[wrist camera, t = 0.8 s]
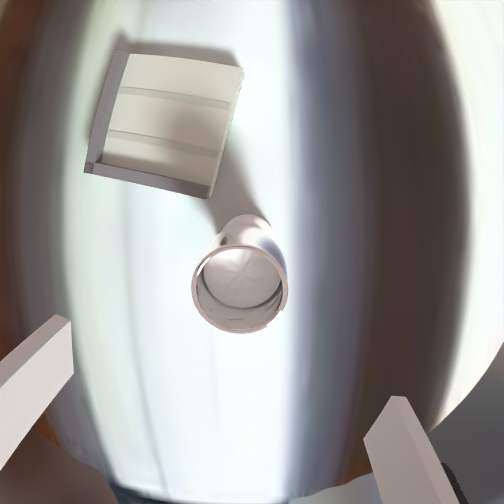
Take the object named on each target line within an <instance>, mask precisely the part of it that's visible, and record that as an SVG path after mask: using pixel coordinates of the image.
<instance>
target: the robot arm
mask: <svg viewBox="0 0 504 504" xmlns="http://www.w3.org/2000/svg"><path fill="white" fill-rule="evenodd" d="M73 373H74V370H73V357H72V340H71V320H68V319H66V318H64V317H61V316H59V315H56V314H55V315H54V316H53V317H52V318H51V319H49V320H48V321H47V322H46V323H44V324H43V325H42V326H41V327H40V328H38V329H37V330H36V331H35V332H34V333H33V334H31V335H30V336H29V337H28V338H27V339H25V340H24V341H23V342H22V343H21V344H20V345H19V346H17V347H16V348H15V349H14V350H13V351H12V352H11V353H9V354H8V355H7V356H6V357H5V358H4V359H3V360H2V361H0V470H1V469H2V467H3V466H4V464H5V463H6V462H7V460H8V459H9V457H10V456H11V454H12V453H13V452H14V450H15V449H16V448H17V446H18V445H19V443H20V442H21V440H22V439H23V438H24V437H25V435H26V434H27V433H28V431H29V430H30V428H31V427H32V426H33V424H34V423H35V422H36V421H37V419H38V418H39V417H40V415H41V414H42V413H43V411H44V410H45V409H46V407H47V406H48V405H49V404H50V402H51V401H52V400H53V398H54V397H55V396H56V395H57V393H58V392H59V391H60V390H61V388H62V387H63V386H64V385H65V383H66V382H67V381H68V380H69V378H70V377H71V376H72V375H73ZM363 440H364V443H365V446H366V450H367V453H368V456H369V459H370V462H371V466H372V469H373V472H374V475H375V479H376V482H377V485H378V489H379V492H380V496H381V499H382V502H383V504H468V502H467V500H466V498H465V496H464V494H463V492H462V490H460V489H461V488H460V486H459V484H458V483H457V480H456V477H455V475H454V474H453V471H452V470H451V469H450V468H449V467H448V466H447V465H446V464H445V463H440V461H439V460H438V457H437V455H436V453H435V451H434V449H433V447H432V445H431V443H430V442H429V440H428V438H427V436H426V434H425V432H424V430H423V428H422V426H421V424H420V422H419V420H418V419H417V417H416V415H415V413H414V411H413V409H412V407H411V405H410V404H409V402H408V400H407V398H406V397H399V396H391V398H390V399H389V401H388V403H387V404H386V406H385V407H384V409H383V411H382V412H381V414H380V415H379V417H378V418H377V420H376V421H375V423H374V424H373V426H372V427H371V429H370V430H369V432H368V433H367V435H366V436H365V437H364V439H363Z"/></svg>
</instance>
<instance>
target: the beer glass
mask: <svg viewBox="0 0 504 504" xmlns="http://www.w3.org/2000/svg"><path fill="white" fill-rule="evenodd" d="M191 290H192V297H193V301H194V304H195V306H196V308H197V310H198V311H199V313H200V314H201V315H202V316H203V318H204V319H205V320H206V321H208V322H209V323H210V324H212V325H213V326H215V327H216V328H218V329H221V330H223V331H226V332H230V333H237V334H245V333H252V332H256V331H259V330H261V329H263V328H265V327H267V326H268V325H270V324H271V323H272V322H274V321H275V320H276V319H277V318H278V316H279V315H280V314H281V312H282V311H283V309H284V307H285V304H286V301H287V296H288V284H287V268H286V262H285V259H284V256H283V253H282V251H281V249H280V247H279V245H278V244H277V242H276V241H275V236H274V232H273V230H272V228H271V226H270V225H269V224H268V223H267V222H266V221H265V220H264V219H263V218H261V217H259V216H256V215H252V214H243V215H239V216H236V217H234V218H233V219H231V220H230V221H229V222H228V223H227V224H226V225H225V227H224V228H223V230H222V232H220V233H219V234H218V235H216V236H215V237H214V238H213V239H212V240H211V241H210V243H209V244H208V245H207V246H206V248H205V249H204V251H203V253H202V255H201V257H200V259H199V262H198V265H197V268H196V270H195V272H194V275H193V278H192V285H191Z"/></svg>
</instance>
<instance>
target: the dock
mask: <svg viewBox="0 0 504 504" xmlns="http://www.w3.org/2000/svg"><path fill="white" fill-rule="evenodd" d="M243 79H244V71H243V68H240V67H235V66H230V65H224V64H219V63H213V62H206V61H200V60H193V59H185V58H177V57H168V56H157V55H145V54H130V53H129V52H128V51H126V50H125V49H116V50H115V53H114V55H113V58H112V61H111V64H110V67H109V70H108V74H107V77H106V80H105V83H104V87H103V90H102V94H101V97H100V101H99V104H98V108H97V112H96V116H95V120H94V124H93V128H92V133H91V137H90V142H89V147H88V151H87V157H86V162H85V167H84V172H85V173H90V174H94V175H99V176H104V177H109V178H114V179H119V180H123V181H128V182H133V183H137V184H142V185H146V186H151V187H155V188H160V189H164V190H168V191H173V192H177V193H181V194H186V195H190V196H194V197H198V198H202V199H207V198H209V197H211V196H212V195H213V192H214V188H215V184H216V179H217V175H218V171H219V167H220V163H221V160H222V156H223V152H224V148H225V144H226V140H227V136H228V133H229V129H230V125H231V122H232V118H233V114H234V111H235V107H236V103H237V100H238V96H239V93H240V89H241V86H242V82H243Z"/></svg>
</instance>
